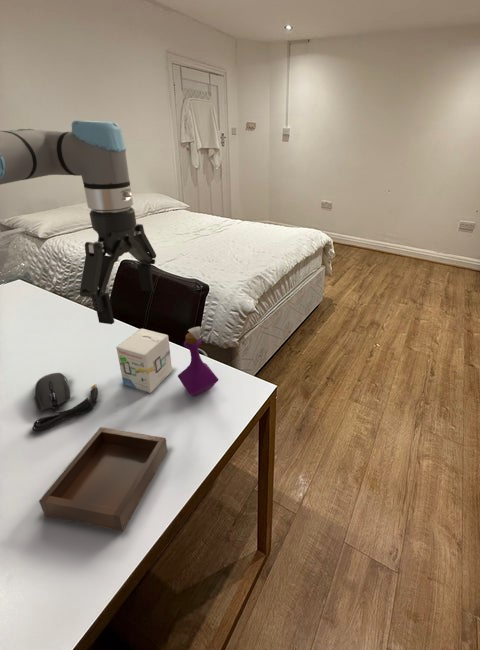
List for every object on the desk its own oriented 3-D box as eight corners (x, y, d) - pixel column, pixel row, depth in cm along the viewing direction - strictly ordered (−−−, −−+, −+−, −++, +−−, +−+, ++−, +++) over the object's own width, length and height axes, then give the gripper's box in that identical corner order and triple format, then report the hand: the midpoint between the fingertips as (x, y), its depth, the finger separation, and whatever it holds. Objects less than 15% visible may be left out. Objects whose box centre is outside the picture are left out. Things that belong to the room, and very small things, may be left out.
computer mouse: (94, 365, 86) (91, 353, 84) (101, 410, 73) (97, 397, 71) (36, 383, 79) (32, 370, 78) (32, 436, 66) (27, 422, 64)
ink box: (122, 384, 80) (114, 346, 76) (146, 362, 88) (141, 327, 83) (150, 393, 78) (144, 354, 73) (173, 370, 85) (169, 334, 81)
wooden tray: (44, 515, 53) (38, 501, 52) (103, 440, 66) (100, 426, 65) (123, 531, 52) (119, 516, 50) (167, 451, 65) (165, 437, 63)
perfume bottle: (178, 385, 81) (171, 325, 74) (206, 373, 85) (202, 315, 79) (190, 404, 75) (183, 341, 69) (219, 390, 80) (216, 329, 73)
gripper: (78, 228, 49) (103, 342, 57) (165, 197, 72) (174, 281, 80) (35, 224, 50) (65, 337, 58) (134, 194, 73) (147, 278, 81)
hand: (129, 305), depth 69 cm, fingers open, 13 cm apart
